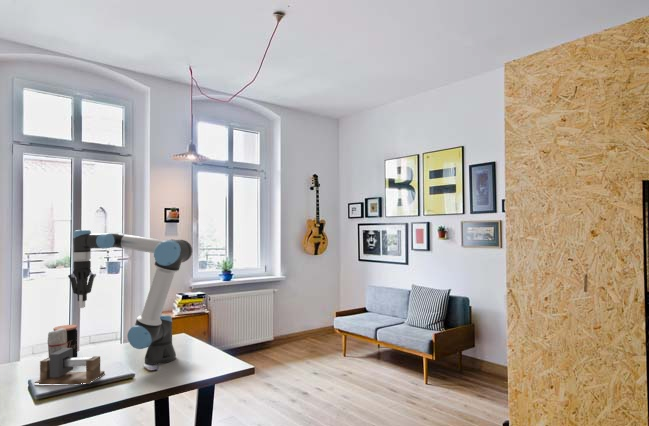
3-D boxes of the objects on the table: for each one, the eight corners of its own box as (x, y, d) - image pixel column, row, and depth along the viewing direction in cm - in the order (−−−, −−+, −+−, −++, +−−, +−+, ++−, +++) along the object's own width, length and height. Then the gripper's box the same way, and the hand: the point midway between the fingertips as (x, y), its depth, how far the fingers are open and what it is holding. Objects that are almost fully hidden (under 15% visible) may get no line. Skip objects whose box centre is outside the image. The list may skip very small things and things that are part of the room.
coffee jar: (52, 366, 209) (52, 330, 210) (54, 360, 219) (54, 326, 220) (76, 362, 214) (76, 327, 215) (78, 357, 224) (77, 323, 225)
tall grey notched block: (72, 369, 194) (72, 347, 195) (58, 377, 184) (58, 354, 185) (64, 369, 194) (64, 348, 195) (49, 377, 185) (49, 354, 185)
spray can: (58, 373, 199) (58, 331, 199) (43, 372, 200) (44, 330, 201) (72, 367, 207) (72, 327, 208) (58, 366, 208) (58, 326, 209)
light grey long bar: (95, 364, 191) (95, 356, 191) (91, 366, 188) (91, 358, 188) (50, 365, 192) (50, 357, 192) (45, 367, 188) (45, 359, 188)
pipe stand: (104, 374, 196) (104, 353, 196) (88, 384, 183) (88, 362, 183) (54, 375, 196) (54, 354, 196) (34, 385, 183) (34, 363, 183)
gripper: (99, 259, 213) (99, 305, 213) (73, 260, 213) (73, 306, 213) (90, 260, 206) (90, 308, 205) (64, 261, 206) (64, 309, 205)
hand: (82, 307), depth 209 cm, fingers closed
